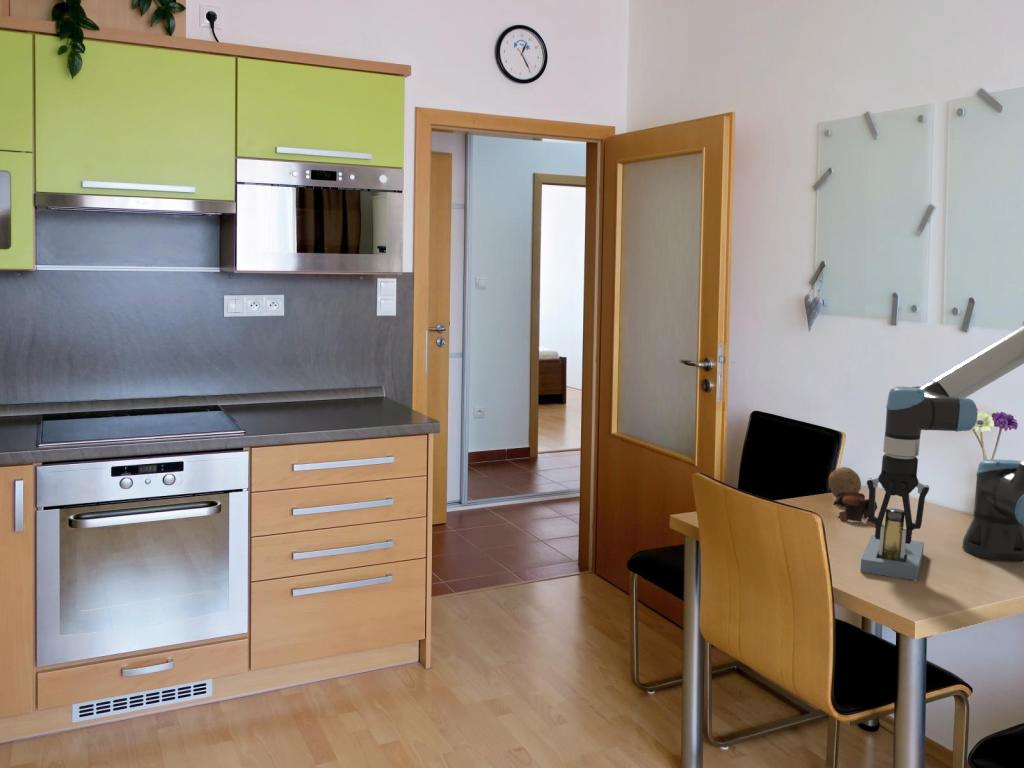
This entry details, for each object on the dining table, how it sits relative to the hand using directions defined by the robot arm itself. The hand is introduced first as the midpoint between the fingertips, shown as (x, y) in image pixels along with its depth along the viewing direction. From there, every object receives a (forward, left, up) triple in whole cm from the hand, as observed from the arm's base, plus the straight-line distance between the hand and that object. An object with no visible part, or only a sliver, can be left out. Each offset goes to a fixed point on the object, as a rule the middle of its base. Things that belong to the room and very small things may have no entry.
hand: (891, 554), depth 229 cm
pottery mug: (+13, -42, -4) cm, 44 cm away
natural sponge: (+18, -59, -4) cm, 62 cm away
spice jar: (0, 0, -2) cm, 2 cm away
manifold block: (0, -5, -3) cm, 6 cm away
